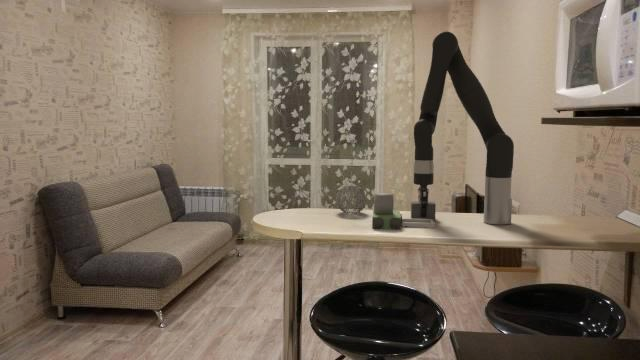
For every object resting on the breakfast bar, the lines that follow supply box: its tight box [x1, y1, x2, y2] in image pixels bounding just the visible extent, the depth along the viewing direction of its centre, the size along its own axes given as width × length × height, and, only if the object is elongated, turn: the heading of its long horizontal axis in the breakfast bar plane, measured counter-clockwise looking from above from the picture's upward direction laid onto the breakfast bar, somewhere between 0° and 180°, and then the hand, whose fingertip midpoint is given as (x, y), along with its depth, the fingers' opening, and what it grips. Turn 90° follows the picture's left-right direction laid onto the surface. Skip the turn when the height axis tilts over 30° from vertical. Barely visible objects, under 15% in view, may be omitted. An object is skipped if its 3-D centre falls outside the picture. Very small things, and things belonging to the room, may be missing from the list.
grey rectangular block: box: [410, 201, 437, 220], centre depth 205 cm, size 9×5×6 cm, turn 83°
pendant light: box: [335, 139, 367, 215], centre depth 217 cm, size 12×12×30 cm
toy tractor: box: [371, 192, 436, 230], centre depth 194 cm, size 22×18×11 cm
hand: (422, 215), depth 206 cm, fingers closed on grey rectangular block, 5 cm apart
